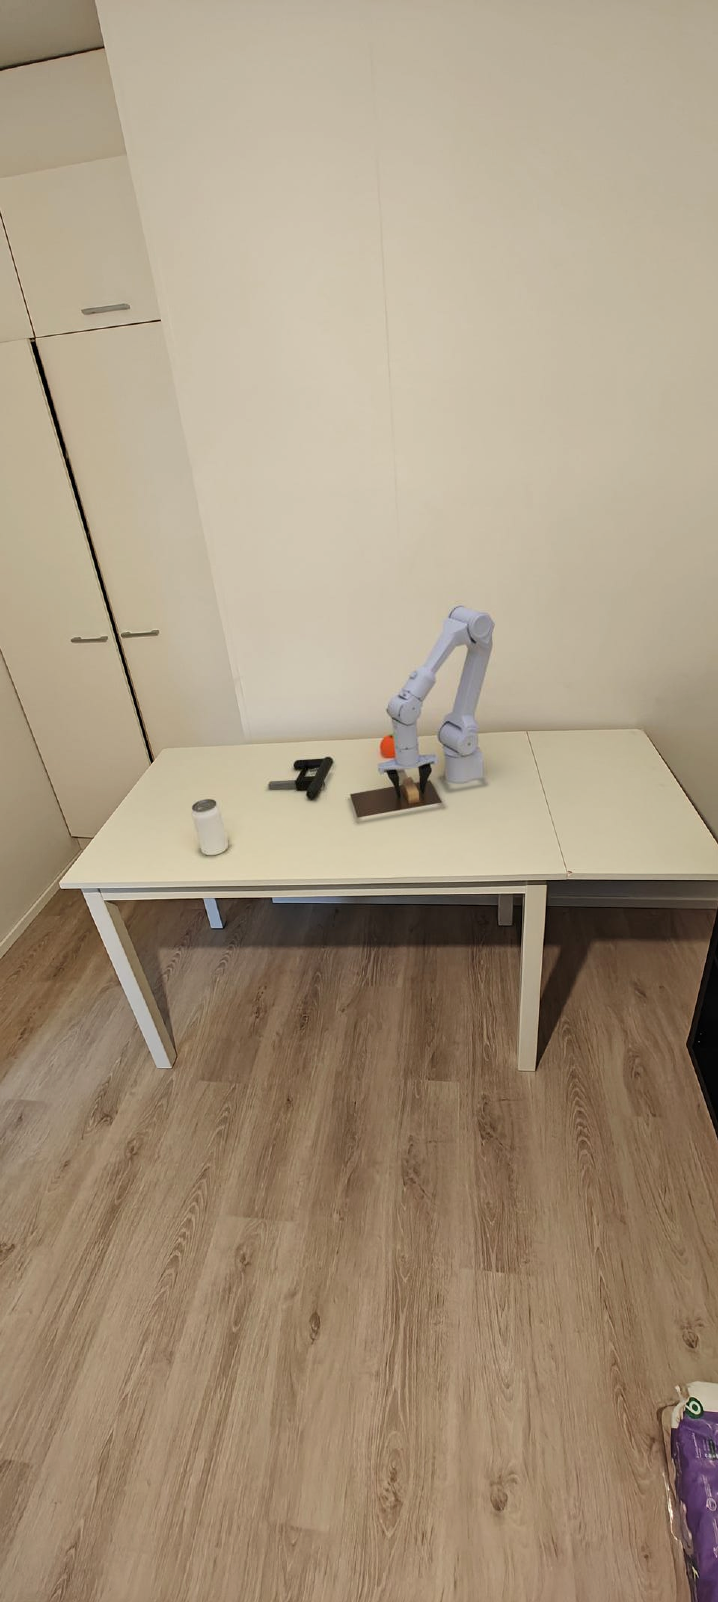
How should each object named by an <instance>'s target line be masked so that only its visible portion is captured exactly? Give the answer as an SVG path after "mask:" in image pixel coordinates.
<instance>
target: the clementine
mask: <svg viewBox="0 0 718 1602" xmlns="http://www.w3.org/2000/svg"><path fill="white" fill-rule="evenodd" d="M379 750H380V753H381V754H382V756H383V757H385V758H388V759H396V756H395V746H394V735H393V733H389V734H387V735H386V736H384V737H383V738H382V739H381V741H380V744H379Z"/></svg>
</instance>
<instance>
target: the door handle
mask: <svg viewBox="0 0 718 1602" xmlns="http://www.w3.org/2000/svg"><path fill="white" fill-rule="evenodd" d="M334 763H336V761H335V762H334V759H333V758H332V757H331V756H325V757H324V758H323V757H322V758H321V757H320V758H306V759H296V760H295V761H294V762H293V768H294V769H295V770H300V772H299V774H298V775H297V776H296V778H295V779H290V780H289V779H287V780H271V781H269V782H268V784H267V785H268V789H269V790H270V791H271V790H288V789H289V790H290V789H291V790H293V789H296V791H297V792H305V791H306V793H305V796H306V798H307V799H309V800H314V799H316V797H318V795H319V794H320V793H321V790H324V786H325V785H326V782H325V780H326V778H327V776H328V774H329V773H330V770H331V768H332V766H333V764H334ZM308 771H309V772H310V773H313V772H316V773H315V774H314V775H307V773H308Z"/></svg>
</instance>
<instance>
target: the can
mask: <svg viewBox="0 0 718 1602" xmlns="http://www.w3.org/2000/svg"><path fill="white" fill-rule="evenodd" d="M191 809H192V810H191V817H192V821H193V826H194V829H195V833H196V836H197V839H198V844H199V847H200V851H201V853H202V854H204V855H206V856H211V857H212V856H217V855H220V854H222V853H224V852H226V850H228V847H229V841H228V837H227V833H226V828H225V824H224V820H223V817H222V811H221V808H220V806H219V805H218V804H217V801H216V800H215V799H212V798H205V799H201V800H197V801H196V802H195V803H194V804H192V806H191Z"/></svg>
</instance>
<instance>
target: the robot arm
mask: <svg viewBox="0 0 718 1602" xmlns="http://www.w3.org/2000/svg"><path fill="white" fill-rule="evenodd" d="M495 625H496V624H495V621H494V620H493V619H492V618H491V615H490V614H488V612H485V611H479V610H476V609H473V608H470V607H466V606H464V605H461V604H459V605H458V604H457V605H456V606H454V607H453V608H451V610H450V611H449V613H448V614H447V617H446V618H445V619H444V620H443V624H442V631H441V632H440V635H439V636H438V638H437V640H436V642H435V643H434V645H433V647H432V649H431V650H430V653H429V654H428V656H427V658H426V659H425V661H424V663H423V665H421V666H419V667H417V668H414V669H413V671H411V672H410V674H409V675H408V679H407V681H406V682H405V684H404V685H403V687H402V688H401V690H399V692H398V693H397V695H394V696H393V697H391V699H389V702H388V704H387V707H386V708H385V711H386V714H387V715H388V716H389V717H390V719H391V724H392V734H393V735H394V746H395V756H396V758H392V759H390V760H388V761H385V762H382V763H378V764H377V770H378V771H377V772H378V773H379V775H384V774H385V773H386V774H387V777H388V779H389V781H390V782H391V783H392V786H394V787H395V790H396V795H397V797H398V798H400V797H401V794H400V788H399V785H400V783H399V776H398V772H397V770H401V769H404V770H412V769H415V768H418V769H417V770H418V775H419V776H418V778H419V780H418V782H420V791H421V793H425V787H426V783H427V780H429V778H430V776H431V774H432V771H433V769H432V766H431V765H434V766H437V765H439V757H438V755H437V754H435V753H434V754H420V748H419V737H418V724H417V723H418V722H417V721H418V719H419V718H421V715H422V707H423V702H424V701H425V700H426V698H427V697H428V695H429V693H430V692H431V690H432V689H433V687H434V686H435V684H436V682H437V680H436V679H437V678H436V674H437V672H438V671H439V670H440V668H441V667H442V666H443V664H444V663H445V662H446V660H447V659H448V658H449V657H450V655H451V654H452V653H453V651H454V650H455V649H456V648H457V647H460V646H466V648H467V650H466V654H465V659H464V663H463V666H462V667H463V668H462V671H461V675H460V679H459V683H458V687H457V691H456V695H455V699H454V703H453V707H452V710H451V712H449V713H447V714H446V715H444V717H443V720H442V723H441V725H440V726H439V728H438V729H437V734H436V735H437V737H436V738H437V740H438V742H439V743H440V744H442V749H443V760H444V763H443V764H444V777H445V780H446V781H447V782H448V783H451V784H455V785H462V784H466V783H469V782H473V781H477V780H483V779H484V757H483V753H482V750H481V748H480V747H479V730H480V726H479V724H478V723H477V720H476V717H475V714H476V710H477V707H478V703H479V700H480V695H481V692H482V688H483V683H484V681H485V677H486V674H487V673H486V672H487V669H488V665H489V661H490V657H491V654H492V649H493V644H494V643H493V632H494V628H495Z"/></svg>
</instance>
